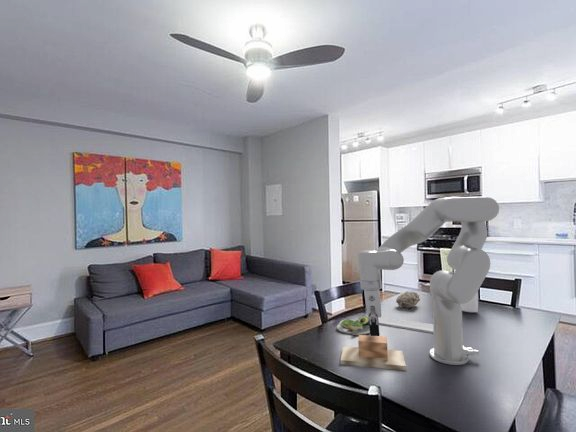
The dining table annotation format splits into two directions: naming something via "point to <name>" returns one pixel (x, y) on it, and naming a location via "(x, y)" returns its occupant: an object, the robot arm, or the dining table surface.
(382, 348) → the block
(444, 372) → the dining table surface
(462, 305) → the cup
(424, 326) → the baseboard
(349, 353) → the plywood board
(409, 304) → the pumice stone
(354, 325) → the salad plate
